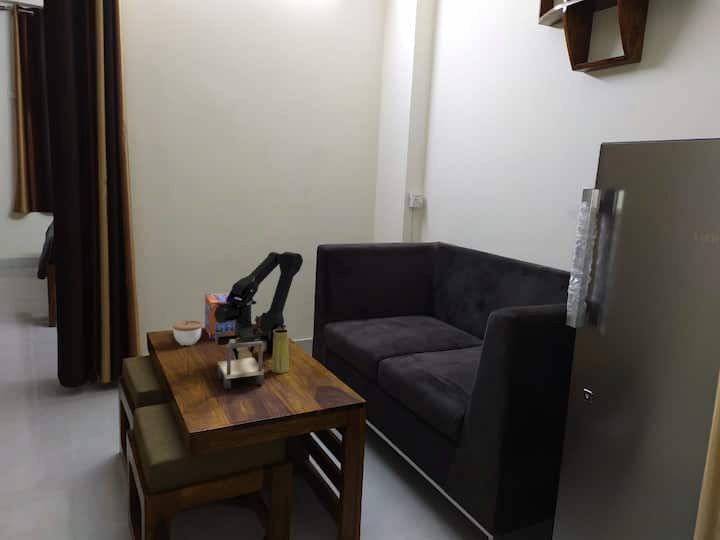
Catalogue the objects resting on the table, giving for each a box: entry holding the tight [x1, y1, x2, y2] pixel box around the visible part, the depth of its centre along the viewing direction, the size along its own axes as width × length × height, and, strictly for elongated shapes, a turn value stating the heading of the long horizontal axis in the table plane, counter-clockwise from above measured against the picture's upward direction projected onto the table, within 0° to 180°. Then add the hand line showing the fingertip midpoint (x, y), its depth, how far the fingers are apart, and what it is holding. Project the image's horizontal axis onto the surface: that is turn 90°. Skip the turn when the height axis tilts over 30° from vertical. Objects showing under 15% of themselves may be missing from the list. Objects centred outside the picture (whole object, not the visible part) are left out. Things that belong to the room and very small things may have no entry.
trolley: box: [217, 340, 265, 390], centre depth 174 cm, size 12×13×15 cm
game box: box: [204, 292, 241, 340], centre depth 225 cm, size 16×16×16 cm
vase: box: [270, 328, 290, 374], centre depth 185 cm, size 6×6×14 cm
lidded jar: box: [172, 319, 203, 347], centre depth 210 cm, size 11×11×9 cm
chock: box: [233, 347, 253, 360], centre depth 192 cm, size 4×8×4 cm, turn 30°
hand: (242, 359), depth 192 cm, fingers closed on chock, 4 cm apart
